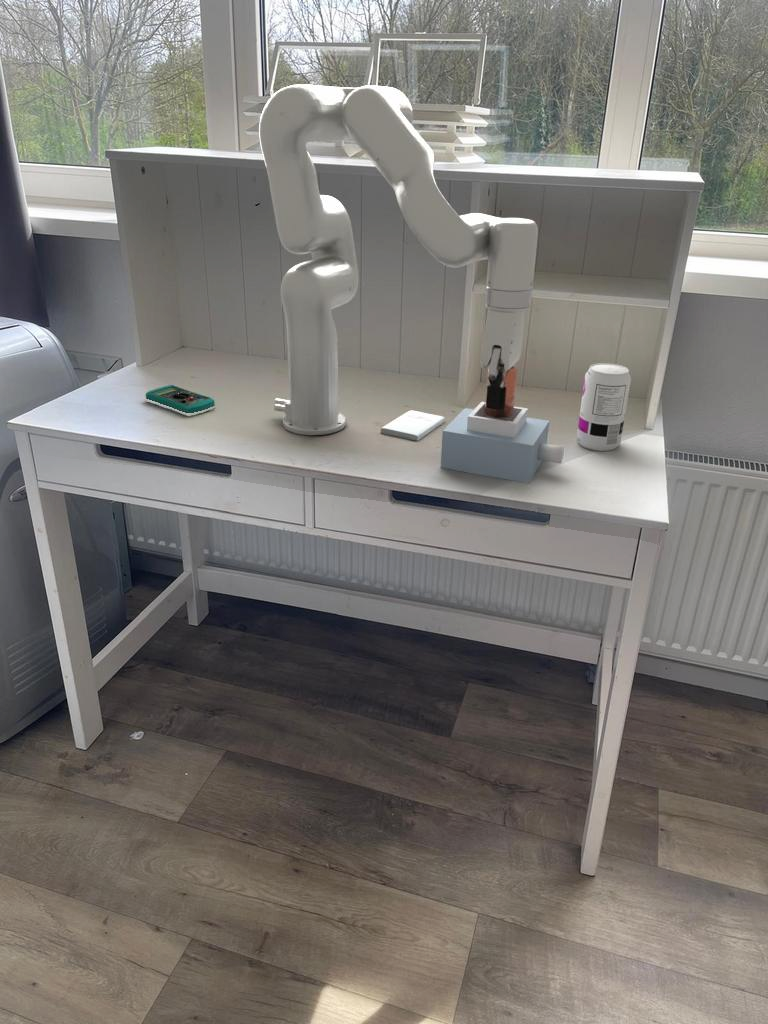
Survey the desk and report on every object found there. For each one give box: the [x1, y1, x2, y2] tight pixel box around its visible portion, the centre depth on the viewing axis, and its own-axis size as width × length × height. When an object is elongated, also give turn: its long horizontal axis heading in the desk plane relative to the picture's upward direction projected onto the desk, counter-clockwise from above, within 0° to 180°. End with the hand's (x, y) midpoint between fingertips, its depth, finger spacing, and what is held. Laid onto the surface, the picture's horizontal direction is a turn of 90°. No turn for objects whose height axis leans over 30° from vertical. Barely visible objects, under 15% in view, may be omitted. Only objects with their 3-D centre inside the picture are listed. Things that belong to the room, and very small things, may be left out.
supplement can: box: [576, 362, 632, 452], centre depth 147 cm, size 8×8×15 cm
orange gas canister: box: [484, 365, 518, 418], centre depth 136 cm, size 5×5×10 cm
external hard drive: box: [380, 409, 446, 442], centre depth 157 cm, size 2×8×12 cm
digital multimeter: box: [145, 384, 216, 413], centre depth 166 cm, size 7×15×3 cm, turn 52°
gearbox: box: [440, 401, 565, 484], centre depth 139 cm, size 20×13×10 cm, turn 67°
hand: (499, 402), depth 137 cm, fingers closed on orange gas canister, 5 cm apart
